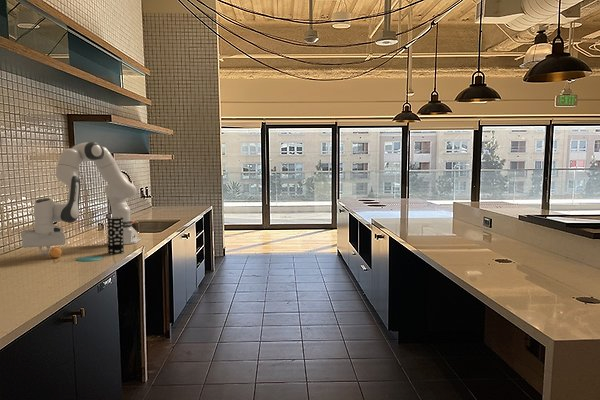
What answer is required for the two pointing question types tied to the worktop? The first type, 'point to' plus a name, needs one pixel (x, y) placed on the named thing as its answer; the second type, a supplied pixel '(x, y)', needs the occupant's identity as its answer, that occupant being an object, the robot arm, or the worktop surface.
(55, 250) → the ball
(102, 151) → the robot arm
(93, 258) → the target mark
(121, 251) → the spotted tube
